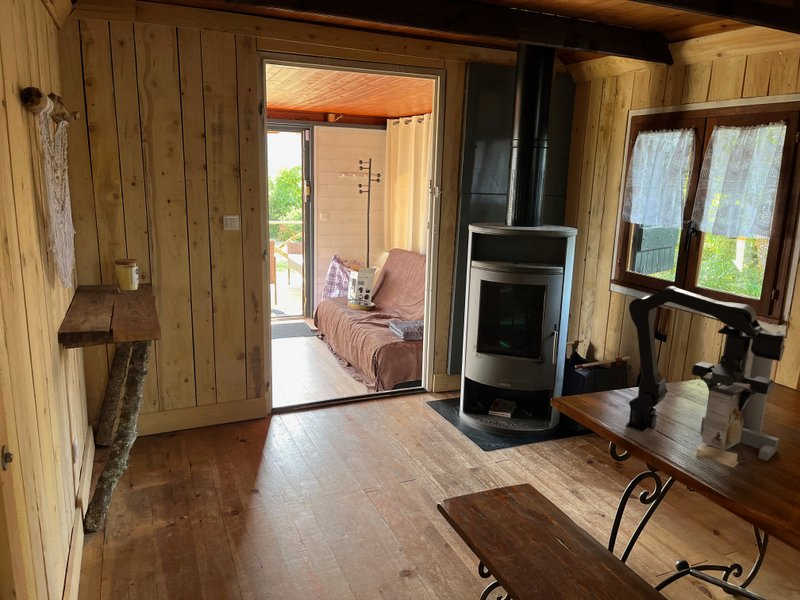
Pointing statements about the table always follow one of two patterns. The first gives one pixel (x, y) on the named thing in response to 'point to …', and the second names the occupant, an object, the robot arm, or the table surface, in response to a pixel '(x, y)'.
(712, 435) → the coffee box
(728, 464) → the offcut lower
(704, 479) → the table surface
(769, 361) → the brochure
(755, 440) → the bracket
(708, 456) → the offcut upper
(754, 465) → the table surface
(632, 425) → the robot arm
